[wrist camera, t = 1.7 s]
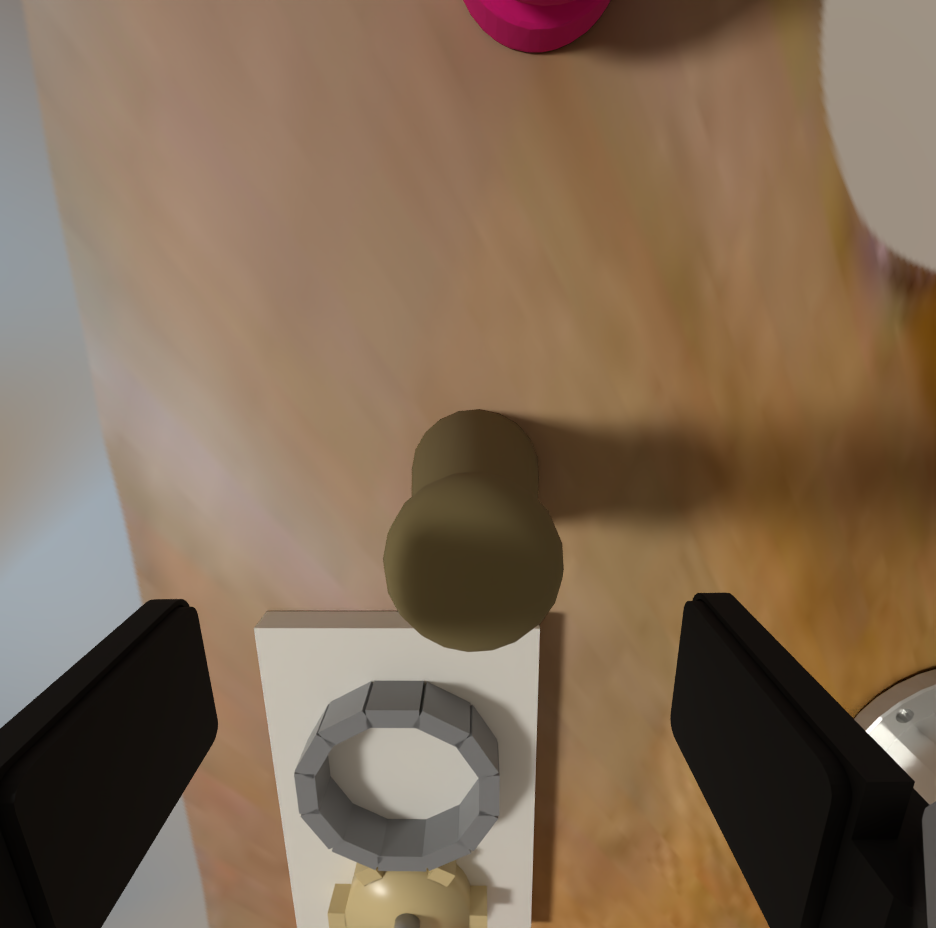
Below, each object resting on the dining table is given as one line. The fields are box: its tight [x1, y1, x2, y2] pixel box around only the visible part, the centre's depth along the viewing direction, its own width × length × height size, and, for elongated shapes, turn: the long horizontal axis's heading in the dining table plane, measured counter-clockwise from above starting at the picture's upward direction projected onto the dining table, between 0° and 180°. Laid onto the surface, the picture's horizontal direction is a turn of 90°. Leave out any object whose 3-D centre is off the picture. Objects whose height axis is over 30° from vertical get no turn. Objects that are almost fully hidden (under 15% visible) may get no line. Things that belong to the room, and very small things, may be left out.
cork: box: [383, 409, 564, 652], centre depth 18 cm, size 6×6×11 cm
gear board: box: [254, 611, 540, 928], centre depth 26 cm, size 22×14×4 cm, turn 1°
